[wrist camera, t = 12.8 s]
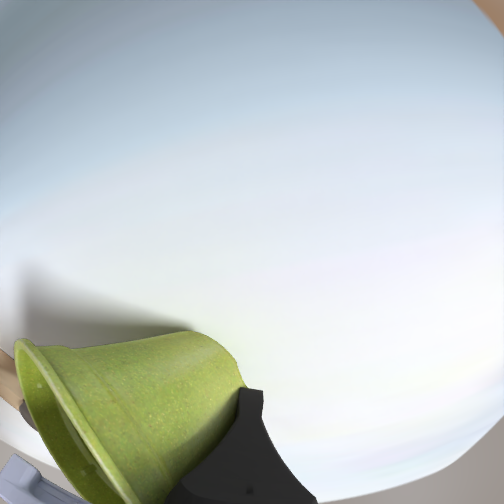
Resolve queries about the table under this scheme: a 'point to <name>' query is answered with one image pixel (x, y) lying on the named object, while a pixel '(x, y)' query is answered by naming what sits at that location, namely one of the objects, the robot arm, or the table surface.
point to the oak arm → (12, 387)
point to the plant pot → (130, 410)
